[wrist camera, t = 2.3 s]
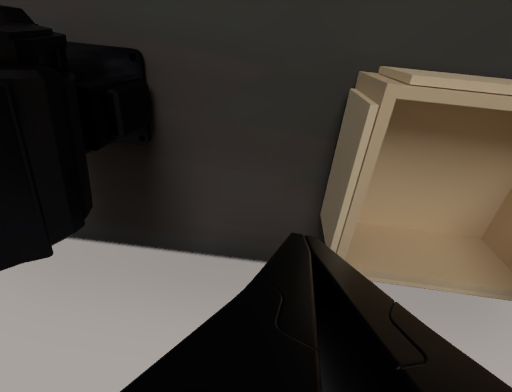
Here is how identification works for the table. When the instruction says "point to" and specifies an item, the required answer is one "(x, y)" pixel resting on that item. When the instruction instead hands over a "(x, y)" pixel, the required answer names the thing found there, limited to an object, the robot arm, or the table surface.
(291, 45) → the table surface
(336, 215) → the carton
